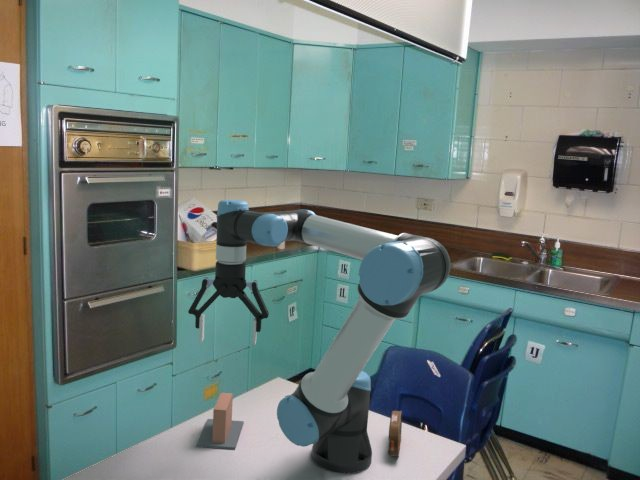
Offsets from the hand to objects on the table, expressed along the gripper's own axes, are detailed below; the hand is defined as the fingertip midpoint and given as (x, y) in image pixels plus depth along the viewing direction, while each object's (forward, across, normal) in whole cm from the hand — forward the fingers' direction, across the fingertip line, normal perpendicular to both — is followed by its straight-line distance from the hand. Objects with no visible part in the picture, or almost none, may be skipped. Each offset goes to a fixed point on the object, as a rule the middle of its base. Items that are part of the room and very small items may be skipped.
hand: (227, 342), depth 147 cm
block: (+21, 0, -5) cm, 21 cm away
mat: (+26, +1, 0) cm, 26 cm away
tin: (+26, -45, +1) cm, 52 cm away
